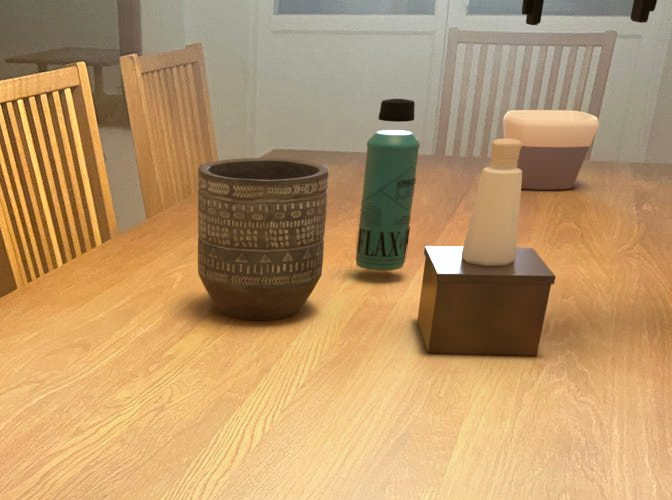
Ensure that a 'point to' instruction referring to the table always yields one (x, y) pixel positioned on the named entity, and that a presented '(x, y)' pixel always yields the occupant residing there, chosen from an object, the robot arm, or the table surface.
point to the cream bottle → (496, 209)
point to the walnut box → (483, 303)
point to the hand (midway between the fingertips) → (585, 22)
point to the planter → (261, 234)
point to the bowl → (550, 145)
